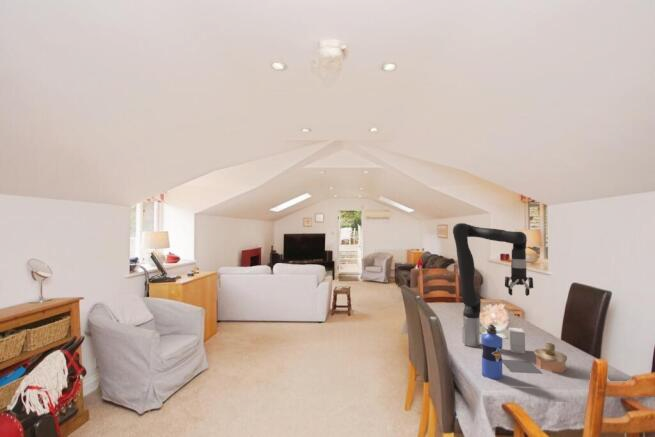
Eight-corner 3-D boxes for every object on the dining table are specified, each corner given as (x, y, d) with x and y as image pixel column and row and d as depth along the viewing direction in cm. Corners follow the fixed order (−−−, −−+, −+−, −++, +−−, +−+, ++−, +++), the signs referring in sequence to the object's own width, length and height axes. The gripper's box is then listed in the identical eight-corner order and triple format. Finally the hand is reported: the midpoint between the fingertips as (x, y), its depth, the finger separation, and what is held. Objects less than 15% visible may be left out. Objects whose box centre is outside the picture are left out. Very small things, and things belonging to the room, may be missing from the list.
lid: (542, 361, 165) (542, 349, 165) (529, 350, 179) (529, 339, 179) (573, 362, 163) (572, 350, 163) (557, 351, 177) (557, 340, 177)
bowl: (544, 372, 166) (543, 360, 166) (532, 362, 178) (532, 351, 178) (569, 373, 165) (569, 361, 165) (556, 363, 176) (556, 352, 176)
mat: (510, 372, 166) (510, 371, 166) (499, 360, 181) (499, 359, 181) (543, 374, 164) (543, 373, 164) (529, 361, 179) (529, 360, 179)
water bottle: (477, 373, 165) (477, 323, 166) (490, 370, 169) (490, 321, 169) (493, 381, 157) (493, 329, 157) (507, 378, 161) (506, 326, 161)
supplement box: (522, 349, 195) (522, 328, 196) (525, 354, 188) (525, 332, 188) (508, 348, 198) (508, 327, 198) (510, 352, 191) (510, 331, 191)
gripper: (508, 267, 185) (508, 296, 185) (535, 267, 183) (535, 297, 183) (502, 265, 192) (503, 293, 192) (529, 266, 190) (529, 294, 190)
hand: (518, 295), depth 187 cm, fingers open, 8 cm apart
